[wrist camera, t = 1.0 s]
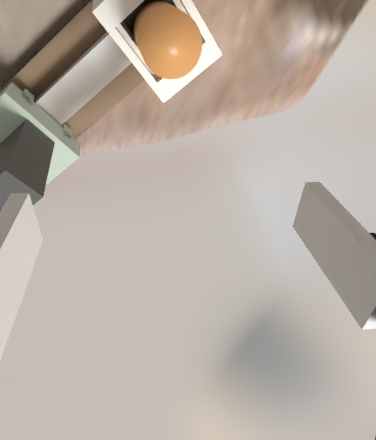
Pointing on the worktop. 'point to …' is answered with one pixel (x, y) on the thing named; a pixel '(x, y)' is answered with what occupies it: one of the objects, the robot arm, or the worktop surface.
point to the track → (66, 55)
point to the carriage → (30, 146)
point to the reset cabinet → (113, 23)
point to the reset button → (167, 40)
